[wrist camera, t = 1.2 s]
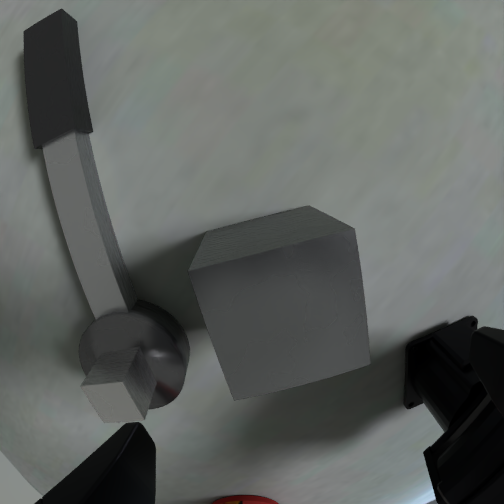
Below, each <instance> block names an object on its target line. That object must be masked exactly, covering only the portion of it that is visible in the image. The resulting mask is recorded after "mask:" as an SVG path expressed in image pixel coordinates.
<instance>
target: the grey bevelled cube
mask: <svg viewBox="0 0 504 504" xmlns="http://www.w3.org/2000/svg"><path fill="white" fill-rule="evenodd" d="M188 273H189V276H190V280H191V283H192V286H193V289H194V292H195V295H196V298H197V301H198V304H199V307H200V310H201V313H202V315H203V318H204V321H205V324H206V327H207V330H208V333H209V335H210V338H211V341H212V344H213V346H214V349H215V352H216V355H217V357H218V360H219V363H220V365H221V368H222V371H223V373H224V376H225V379H226V381H227V384H228V386H229V389H230V391H231V394H232V397H233V399H234V400H240V399H245V398H249V397H254V396H259V395H263V394H268V393H272V392H277V391H281V390H285V389H289V388H293V387H297V386H301V385H304V384H308V383H312V382H315V381H319V380H322V379H326V378H329V377H333V376H336V375H339V374H343V373H346V372H349V371H352V370H355V369H358V368H361V367H364V366H367V365H370V350H369V337H368V326H367V316H366V306H365V297H364V289H363V281H362V273H361V266H360V259H359V252H358V246H357V240H356V233H355V228H353V227H351V226H349V225H347V224H345V223H343V222H341V221H339V220H337V219H335V218H333V217H331V216H329V215H327V214H325V213H323V212H321V211H319V210H317V209H315V208H313V207H311V206H305V207H301V208H297V209H293V210H289V211H285V212H280V213H276V214H272V215H268V216H264V217H260V218H256V219H253V220H249V221H245V222H241V223H237V224H233V225H229V226H225V227H222V228H218V229H214V230H210V231H207V232H206V234H205V236H204V238H203V240H202V242H201V244H200V246H199V249H198V251H197V253H196V255H195V257H194V259H193V261H192V263H191V265H190V268H189V270H188Z"/></svg>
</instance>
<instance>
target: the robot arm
mask: <svg viewBox="0 0 504 504" xmlns="http://www.w3.org/2000/svg"><path fill="white" fill-rule="evenodd" d="M477 324H478V320H477V318H476V317H474V316H470V317H468V318H466V319H464V320H461V321H459V322H457V323H455V324H453V325H450V326H448V327H446V328H444V329H441V330H439V331H437V332H434V333H432V334H430V335H427V336H425V337H422V338H420V339H417V340H415V341H412V342H410V343H409V344H408V345H407V347H406V363H405V392H404V406H405V407H406V408H407V409H411V408H413V407H416V406H418V405H420V404H422V403H424V404H425V405H426V407H427V408H428V410H429V411H430V412H431V414H432V415H433V417H434V418H435V419H436V421H437V422H438V424H439V425H440V426H441V428H442V429H443V431H444V432H445V433H444V434H443V435H442V436H441V437H440V438H439V439H438V440H437V441H436V442H435V443H434V444H433V445H432V446H431V447H430V446H429V447H428V448H427V449H426V450H425V451H424V452H423V454H424V457H425V461H426V465H427V468H428V472H429V475H430V479H431V482H432V486H433V490H434V493H435V497H436V501H437V503H438V504H504V330H501V329H496V328H491V327H486V326H484V327H481V328H479V329H477ZM413 348H414V349H413ZM412 349H413V350H412ZM155 493H156V447H155V443H154V441H153V440H152V438H151V437H150V435H149V434H148V432H147V431H146V429H145V427H144V426H143V425H142V424H141V423H139V422H132V423H126V424H124V425H123V426H122V427H121V428H120V429H119V430H118V431H117V432H116V433H114V434H113V435H112V436H111V437H110V438H109V439H108V440H107V441H106V442H105V443H103V444H102V445H101V446H100V447H99V448H98V449H97V450H96V451H95V452H93V453H92V454H91V455H90V456H89V457H88V458H87V459H86V460H84V461H83V462H82V463H81V464H80V465H79V466H78V467H77V468H75V469H74V470H73V471H72V472H71V473H70V474H69V475H67V476H66V477H65V478H64V479H63V480H62V481H60V482H59V483H58V484H57V485H56V486H55V487H54V488H52V489H51V490H50V491H49V492H48V493H46V494H45V495H44V496H43V497H42V499H39V500H38V501H37V502H36V503H35V504H155Z"/></svg>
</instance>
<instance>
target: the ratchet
mask: <svg viewBox="0 0 504 504" xmlns="http://www.w3.org/2000/svg"><path fill="white" fill-rule="evenodd" d="M24 66H25V82H26V93H27V103H28V111H29V119H30V126H31V132H32V139H33V144H34V149H43V153H44V158H45V163H46V168H47V173H48V177H49V181H50V185H51V190H52V194H53V197H54V201H55V205H56V209H57V212H58V216H59V219H60V223H61V226H62V229H63V233H64V236H65V239H66V242H67V245H68V248H69V251H70V254H71V257H72V260H73V263H74V266H75V269H76V271H77V274H78V277H79V279H80V282H81V285H82V287H83V290H84V292H85V295H86V297H87V300H88V302H89V305H90V307H91V310H92V312H93V314H94V317H95V320H94V321H93V323H92V324H91V325H90V326H89V327H88V328H87V330H86V331H85V332H84V334H83V336H82V338H81V340H80V344H79V358H80V362H81V365H82V368H83V370H84V372H85V374H86V376H87V377H86V378H85V380H84V381H83V383H82V384H81V388H82V389H83V391H84V393H85V394H86V396H87V398H88V399H89V401H90V403H91V404H92V406H93V407H94V409H95V410H96V412H97V413H98V415H99V416H100V418H101V419H102V421H103V422H104V423H110V422H129V421H142V420H145V418H146V415H147V412H148V409H155V408H159V407H163V406H165V405H167V404H169V403H170V402H172V401H173V400H174V399H175V398H176V397H177V396H178V395H179V393H180V392H181V390H182V387H183V384H184V380H185V375H186V371H187V366H188V362H189V356H190V347H189V342H188V339H187V336H186V334H185V332H184V330H183V328H182V327H181V325H180V324H179V323H178V322H177V320H176V319H175V318H174V317H173V316H172V315H170V314H169V313H168V312H167V311H165V310H164V309H162V308H160V307H159V306H157V305H154V304H152V303H149V302H146V301H142V300H138V299H137V296H136V294H135V291H134V288H133V286H132V283H131V280H130V277H129V275H128V272H127V269H126V266H125V263H124V260H123V257H122V254H121V251H120V248H119V245H118V242H117V239H116V236H115V233H114V229H113V226H112V223H111V220H110V216H109V213H108V209H107V206H106V202H105V199H104V195H103V191H102V188H101V184H100V180H99V176H98V172H97V168H96V164H95V160H94V155H93V151H92V146H91V142H90V137H89V133H92V132H93V128H92V123H91V118H90V113H89V108H88V102H87V96H86V90H85V84H84V78H83V71H82V63H81V55H80V47H79V37H78V27H77V21H76V20H75V19H74V18H72V17H71V16H70V15H69V14H68V13H66V12H65V11H64V10H63V9H60V10H58V11H56V12H54V13H53V14H51V15H49V16H47V17H46V18H44V19H42V20H41V21H39V22H37V23H36V24H34V25H33V26H31V27H29V28H28V29H26V30H25V31H24Z"/></svg>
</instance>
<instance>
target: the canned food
mask: <svg viewBox="0 0 504 504" xmlns="http://www.w3.org/2000/svg"><path fill="white" fill-rule="evenodd" d="M212 504H278V503H277V502H276V501H274V500H272V499H269V498H265V497H261V496H253V495H237V496H229V497H225V498H222V499H219V500H217V501H215V502H213V503H212Z"/></svg>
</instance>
